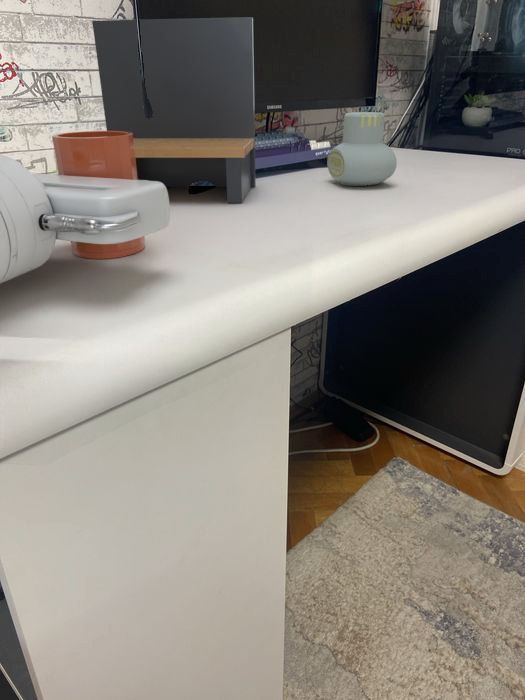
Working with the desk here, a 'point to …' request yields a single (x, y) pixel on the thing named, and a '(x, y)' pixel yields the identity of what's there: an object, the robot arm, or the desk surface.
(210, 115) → the shelf rack
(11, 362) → the desk surface
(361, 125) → the air freshener
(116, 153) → the cup
